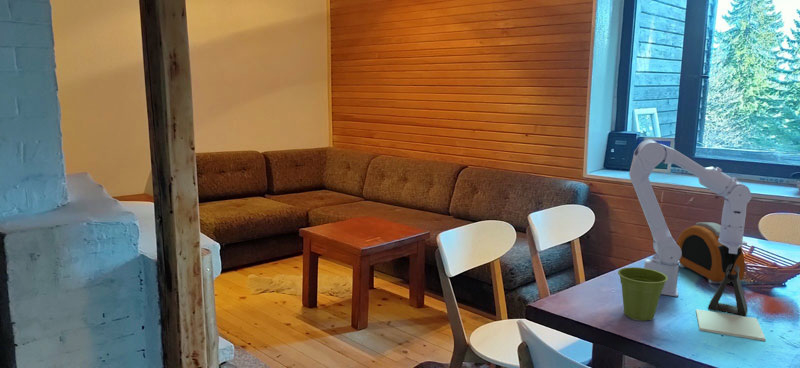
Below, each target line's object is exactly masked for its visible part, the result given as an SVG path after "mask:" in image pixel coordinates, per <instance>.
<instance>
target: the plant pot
mask: <svg viewBox="0 0 800 368" xmlns="http://www.w3.org/2000/svg"><path fill="white" fill-rule="evenodd" d="M617 275H619V277H620V279H619V282H620V284H621V292H622V293H621V294H622V303H623V304H622V305H623V306H622V307H623V314H624V316H626V317H628V318H629V319H631V320H634V321H640V322H646V321H648V320H650V321H652V320H653V319H655V315H656V311H657V308H658V305H659V301H660V297H661V295H662V294H661V291H662V289H663V287H664V284H665V282H666V281H667V280H668V277H667V276H666V275H665V274H663V273H661V272H658V271H655V270H651V269H646V268H644V267H632V266H631V267H624V268H622V267H621V269H619V270H617Z"/></svg>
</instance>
